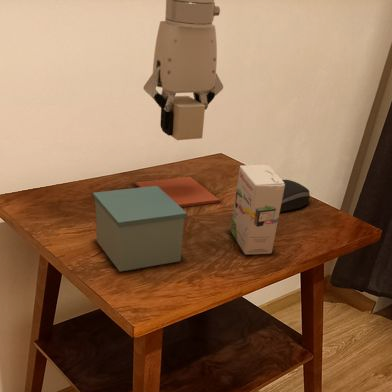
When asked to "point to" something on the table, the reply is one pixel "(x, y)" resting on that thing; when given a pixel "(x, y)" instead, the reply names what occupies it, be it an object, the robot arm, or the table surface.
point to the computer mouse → (294, 196)
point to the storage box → (139, 227)
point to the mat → (182, 191)
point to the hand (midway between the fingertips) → (181, 131)
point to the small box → (187, 118)
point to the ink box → (257, 208)
